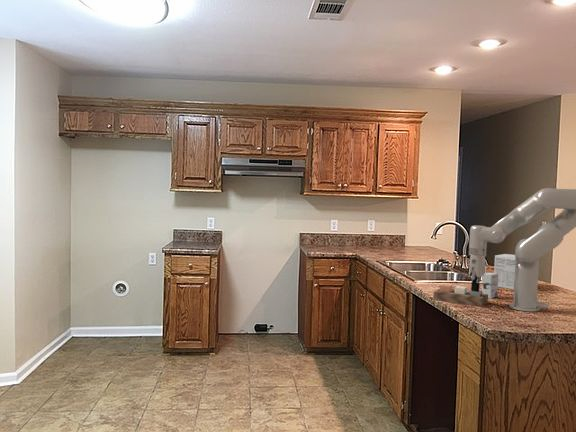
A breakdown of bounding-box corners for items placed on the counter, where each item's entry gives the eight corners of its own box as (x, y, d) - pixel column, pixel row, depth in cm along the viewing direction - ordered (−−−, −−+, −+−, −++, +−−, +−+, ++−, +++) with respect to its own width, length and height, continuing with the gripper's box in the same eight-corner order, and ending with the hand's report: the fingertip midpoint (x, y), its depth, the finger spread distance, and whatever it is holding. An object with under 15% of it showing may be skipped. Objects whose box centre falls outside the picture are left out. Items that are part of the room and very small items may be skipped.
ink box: (488, 294, 248) (489, 271, 247) (497, 296, 244) (498, 273, 244) (480, 297, 242) (481, 273, 241) (490, 298, 238) (491, 275, 238)
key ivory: (467, 295, 231) (467, 287, 231) (464, 297, 227) (464, 288, 227) (457, 294, 234) (457, 285, 234) (454, 295, 230) (454, 287, 230)
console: (487, 302, 229) (488, 294, 229) (481, 307, 219) (481, 298, 219) (441, 295, 242) (442, 287, 242) (433, 299, 232) (433, 291, 232)
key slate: (482, 299, 227) (482, 291, 227) (479, 301, 223) (479, 292, 223) (472, 298, 230) (472, 289, 230) (469, 299, 226) (469, 291, 226)
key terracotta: (452, 293, 235) (452, 285, 235) (449, 294, 232) (449, 286, 231) (442, 291, 238) (443, 283, 238) (439, 293, 234) (440, 285, 234)
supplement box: (516, 290, 262) (518, 258, 261) (492, 286, 272) (494, 255, 271) (527, 287, 271) (528, 256, 270) (503, 283, 281) (505, 253, 280)
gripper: (481, 254, 217) (479, 294, 218) (490, 251, 229) (487, 290, 230) (464, 252, 222) (462, 292, 223) (473, 250, 234) (471, 287, 235)
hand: (475, 290), depth 227 cm, fingers closed
